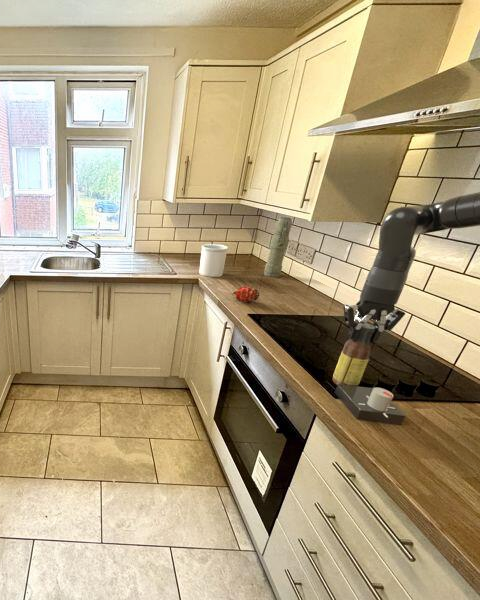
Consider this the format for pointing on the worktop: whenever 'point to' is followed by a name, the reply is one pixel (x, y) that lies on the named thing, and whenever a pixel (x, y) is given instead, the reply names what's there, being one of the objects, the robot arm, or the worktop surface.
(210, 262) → the utensil holder
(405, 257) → the robot arm
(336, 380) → the sauce bottle
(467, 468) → the worktop surface
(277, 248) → the grey green carved column
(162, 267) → the worktop surface
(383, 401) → the dial
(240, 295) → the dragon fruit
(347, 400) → the rotary knob panel
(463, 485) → the worktop surface
